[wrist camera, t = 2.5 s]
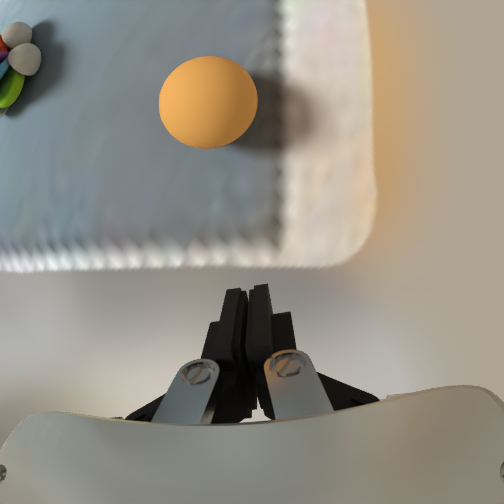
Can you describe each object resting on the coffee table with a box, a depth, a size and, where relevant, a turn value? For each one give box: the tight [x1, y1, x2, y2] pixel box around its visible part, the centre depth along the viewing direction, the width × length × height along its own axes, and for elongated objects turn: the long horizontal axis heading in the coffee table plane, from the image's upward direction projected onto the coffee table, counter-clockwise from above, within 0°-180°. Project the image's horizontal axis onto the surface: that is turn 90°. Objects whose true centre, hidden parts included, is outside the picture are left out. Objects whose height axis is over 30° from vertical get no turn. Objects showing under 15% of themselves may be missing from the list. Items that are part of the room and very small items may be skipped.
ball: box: [159, 56, 258, 149], centre depth 16 cm, size 6×6×6 cm
